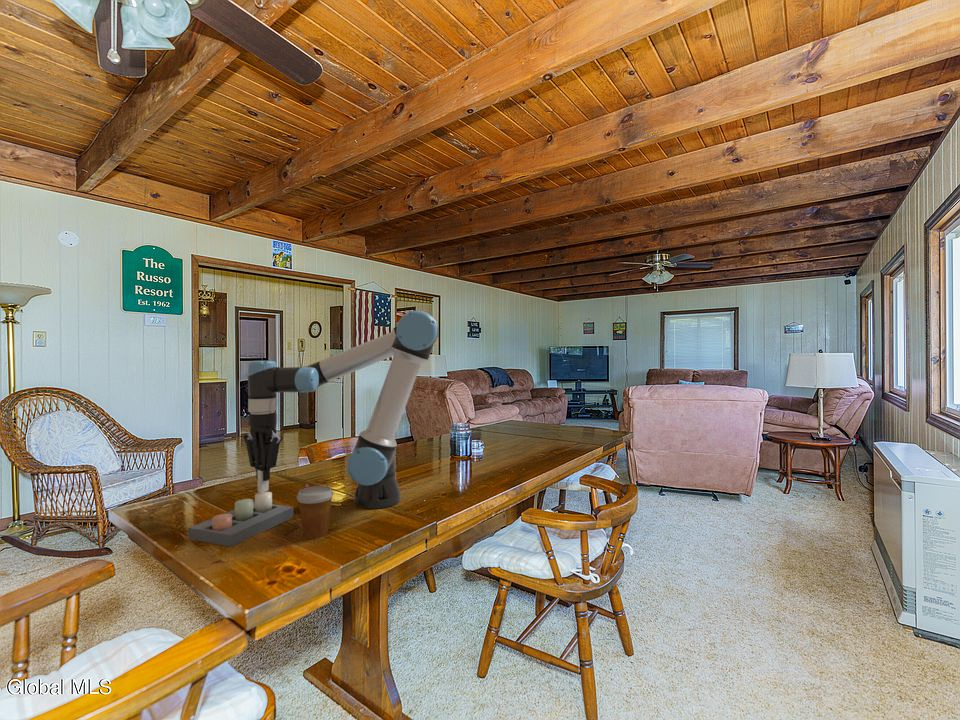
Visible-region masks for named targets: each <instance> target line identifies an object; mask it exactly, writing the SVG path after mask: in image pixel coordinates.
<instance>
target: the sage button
mask: <svg viewBox="0 0 960 720" xmlns="http://www.w3.org/2000/svg"><path fill="white" fill-rule="evenodd" d="M253 502H254V500H253V499H252V498H243V499H239V500H236V501H235V502H234V510H235V520H237V521H243V522H244V521H246V520H248V519H251V518H253Z"/></svg>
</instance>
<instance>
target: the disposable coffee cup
mask: <svg viewBox="0 0 960 720" xmlns="http://www.w3.org/2000/svg"><path fill="white" fill-rule="evenodd" d="M303 488H304V487H303ZM301 489H302V488H301ZM301 489H299V490H298V493H297V495H296V501H297V500H298V501H297V503H298V502H299V503H298V507H299V514H300V520H301V528H302V535H303V537H304V538H305V539H310V540H311V539H319V538H322V537H325V536H326V535H327V534H328V532H329V526H330V525H329V524H330V516H331V508H332V499H333V496H334V493H335V492H333V490H332V489H333V488H332V487H331V486H327V485H314V486H310V487H307V488H304V489H302V490H301Z"/></svg>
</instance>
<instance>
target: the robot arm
mask: <svg viewBox="0 0 960 720" xmlns="http://www.w3.org/2000/svg"><path fill="white" fill-rule="evenodd" d="M438 337H439V326H438V324H437V321H436V320H435V318H434V317H433V316H432V314H430V313H428V312H426V311H422V310H411V311H409V312H406V313H404V315H403V316H401V318H399V320H398V322H397V325H396V326H395V327H393V328H392V329H391V332H388V333H386V334H383V335H381V336H378V337H376V338H373V339H370V340H368V341H365V342H363V343H361V344H359V345H356V346H353V347H350V348H349V349H346V350H344V351H341V352H339V353H337V354H334V355H331V356H329V357H326V358H324V359H321V360H319V361H316V362H314V363H312V364H309V365H307V366H294V367H292V366H291V367H279V366H277V362H276V361H274V360H252V361H250V362H249V363H248V366H247V367H248V370H247V371H248V372H247V385H248V386H247V387H248V392H247V393H248V395H247V396H248V397H247V398H248V399H247V400H248V402H247V406H248V407H247V411H248V413H249V414H248V415H247V417H248V426H249V427H250V429H249V432H248V433H247V434H243V439H244V442H245V445H246V446H245V447H246V449H247V456H248V461H249V465H250V467H251V468H254V469H255V470H256V471H255V475H256V476H255V477H256V481H257V493H260V492H261V493H262V492H268V491H269V490H270V488H269V487H270V486H269V484H270V483H269V482H270V479H271V469H273V468H276V466H277V461H278V457H279V456H278V455H279V450H280V445H281V442H282V440H283V436H282V435H278V434H277V432H276V429H275V425H277V412H275V411H277V393H302V394H305V393H313V392H315V391H317V388H319V387H321V386H323V385H325V384H327V383H329V382H332V381H334V380H337V379H339V378H341V377H345V376H347V375H349V374H352V373H354V372H357V371H359V370H362V369H365V368H367V367H369V366H371V365H374V364H376V363H379V362H382V361H384V360H386V359H389V358H392V360H391V363H390V365H389V368H388V370H387V373H386V377H385V379H384V382H383V384H382V387H381V390H380V392H379V395H378V398H377V401H376V403H375V406H374V409H373V411H372V415H371V417H370V420H369V422H368V425H367V428H366V429H364V430H362V431H360V432H359V435H358V437H357V441H356V443H355V446H354V447H353V451H351V453H350V454H349V456H348V459H347V463H346V469H347V472H348V475H349V477H350V478H351V479H352V480H353V481H354V482H355V483H357V487H356V488H355V489H356V490H355V493H354V497H353V499H354V500H353V501H354V502H353V503H354V505H355V506H357V507H359V508H364V509H383V508H389V507H392V506H394V505H397V504H399V503H400V502H401V501H402V500H401V499H402V497H401V496H402V494H401V493H402V492H401V490H400V487H399V484H398V481H397V477H396V448H397V446H398V444H397V441H396V434H397V431H398V429H399V425H400V423H401V420H402V418H403V415H404V412H405V409H406V406H407V403H408V401H409V398H410V396H411V393H412V390H413V387H414V385H415V382H416V380H417V377H418V373H419V372H420V371H419V370H420V368H421V367H422V366H421V365H423V364H424V363H426V362H428V361H429V358H430V355H431V353H432V350H433V347H434V344H435V343H436V341H437V340H438Z"/></svg>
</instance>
